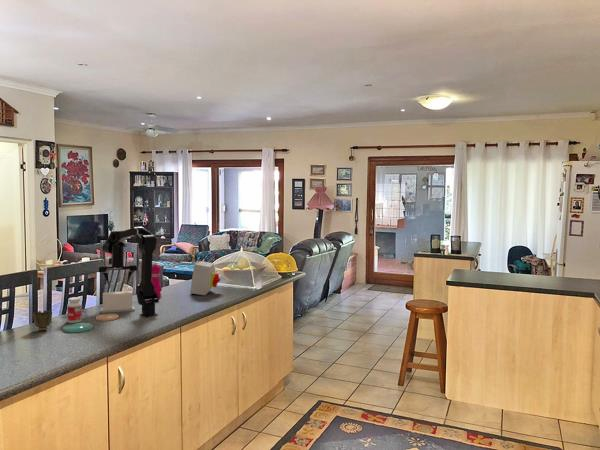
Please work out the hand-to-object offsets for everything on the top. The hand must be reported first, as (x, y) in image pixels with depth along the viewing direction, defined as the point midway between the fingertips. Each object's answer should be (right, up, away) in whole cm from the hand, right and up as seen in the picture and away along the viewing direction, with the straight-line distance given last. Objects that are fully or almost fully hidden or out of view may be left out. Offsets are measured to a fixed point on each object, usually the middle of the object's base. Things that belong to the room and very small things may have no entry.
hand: (117, 284), depth 256 cm
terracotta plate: (+3, -14, -21) cm, 26 cm away
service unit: (+2, -13, -6) cm, 14 cm away
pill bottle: (-10, -14, -28) cm, 33 cm away
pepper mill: (+12, -11, +27) cm, 31 cm away
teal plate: (-3, -15, -39) cm, 42 cm away
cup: (-17, -15, -43) cm, 48 cm away
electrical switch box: (+38, -10, +39) cm, 56 cm away
